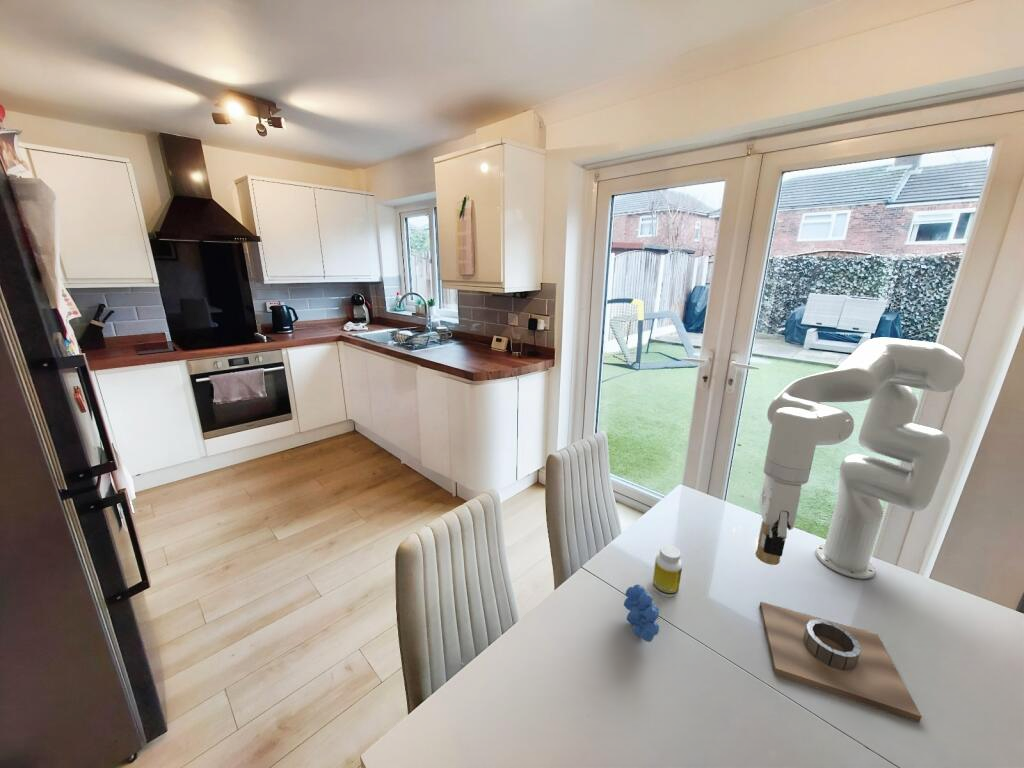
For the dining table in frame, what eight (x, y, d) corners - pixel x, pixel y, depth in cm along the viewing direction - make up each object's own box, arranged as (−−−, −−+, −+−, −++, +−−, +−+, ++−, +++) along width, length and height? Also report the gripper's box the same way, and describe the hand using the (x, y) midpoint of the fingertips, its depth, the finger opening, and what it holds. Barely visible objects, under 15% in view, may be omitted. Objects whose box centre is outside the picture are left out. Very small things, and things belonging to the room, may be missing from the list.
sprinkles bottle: (764, 566, 83) (775, 510, 79) (750, 551, 87) (760, 498, 83) (785, 565, 83) (797, 509, 79) (770, 550, 87) (781, 497, 84)
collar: (799, 626, 87) (802, 614, 86) (847, 640, 84) (851, 627, 83) (809, 660, 79) (813, 646, 78) (863, 677, 76) (867, 663, 75)
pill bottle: (680, 600, 96) (686, 561, 93) (654, 595, 97) (659, 557, 94) (675, 581, 102) (681, 544, 99) (650, 577, 103) (655, 541, 100)
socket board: (759, 606, 94) (760, 601, 94) (876, 639, 86) (877, 634, 85) (774, 673, 78) (775, 668, 78) (919, 722, 70) (921, 716, 69)
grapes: (671, 654, 82) (678, 608, 79) (641, 660, 81) (647, 613, 77) (642, 609, 93) (647, 567, 90) (616, 614, 92) (620, 571, 88)
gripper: (759, 449, 88) (746, 520, 93) (771, 484, 73) (754, 566, 78) (799, 455, 85) (783, 528, 90) (820, 493, 70) (800, 578, 75)
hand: (770, 545), depth 84 cm, fingers closed on sprinkles bottle, 4 cm apart
